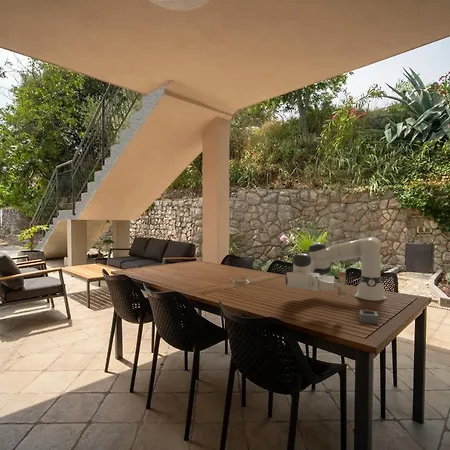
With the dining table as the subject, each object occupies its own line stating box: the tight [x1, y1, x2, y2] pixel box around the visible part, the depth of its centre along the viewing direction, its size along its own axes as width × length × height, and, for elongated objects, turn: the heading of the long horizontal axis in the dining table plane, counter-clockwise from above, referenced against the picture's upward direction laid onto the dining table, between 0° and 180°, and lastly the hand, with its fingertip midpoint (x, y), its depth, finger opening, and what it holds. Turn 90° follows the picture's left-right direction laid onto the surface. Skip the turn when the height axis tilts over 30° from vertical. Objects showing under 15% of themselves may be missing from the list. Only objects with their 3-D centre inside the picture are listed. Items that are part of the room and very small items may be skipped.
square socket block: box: [358, 309, 379, 325], centre depth 162 cm, size 8×8×4 cm
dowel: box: [337, 270, 347, 299], centre depth 165 cm, size 4×4×13 cm
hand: (343, 283), depth 165 cm, fingers closed on dowel, 4 cm apart
